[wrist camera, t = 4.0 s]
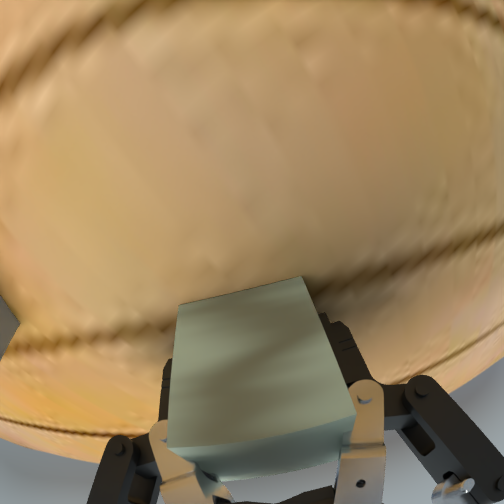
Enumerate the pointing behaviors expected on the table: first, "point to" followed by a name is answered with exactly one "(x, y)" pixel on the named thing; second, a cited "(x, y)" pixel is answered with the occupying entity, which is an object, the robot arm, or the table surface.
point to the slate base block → (6, 326)
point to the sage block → (256, 384)
